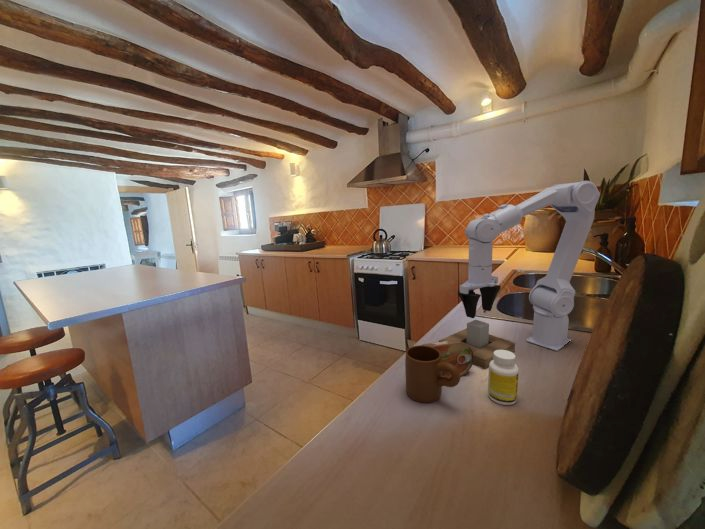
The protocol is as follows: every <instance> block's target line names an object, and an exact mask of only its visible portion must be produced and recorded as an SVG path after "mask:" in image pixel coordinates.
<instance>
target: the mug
mask: <svg viewBox="0 0 705 529" xmlns="http://www.w3.org/2000/svg"><path fill="white" fill-rule="evenodd" d="M404 360H405V363H404V365H405V368H404V369H405V391H406V392H407V395H408V396H409V397H410V398H411V399H413V400H414V401H416V402H418V403H425V404H426V403H433V402H436V401H437V400H439V398H441V396H442V391H443V390H442V389H443V388H442V387H445V388H446V387H447V388H454V387H456V386H458V385H459V383H460V381H461V376H460V373H459V370H458V369H457V368H456V367H455V366H454V365H452V364H450V363H442V359H441V353H440V352H439V350H437V349H435V348H433V347H430V346H424V345H423V344H421V345H414V346H411V347H409V348H407V349H406V351H405V359H404ZM442 371H449V372H450V373H451V374H452V377H451V378H446V377H442Z"/></svg>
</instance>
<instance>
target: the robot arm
mask: <svg viewBox="0 0 705 529" xmlns="http://www.w3.org/2000/svg"><path fill="white" fill-rule="evenodd" d="M600 196H601V192H600V191H599V189H598V187H597V186H596V184H595V183H594V182H592V181H590V180H581V181H578V182H570V183H569V182H568V183H556V184H554V185H552V186H550V187H546V188H544V189H543V190H542V191H539V193H537V194H534V195H533V196H530V198H528V199H526V200H524V201H522V202H520V203H518V204H517V205H513V204H512V203H511V204H501V205H499V207H498V209H496V210H494V211H492V212H490V213H484V214H483V215H482V217H481V218H476V219H472V220H471V221H470V222H468V224H467V225H466V229H464V235H465V236H466V238H467V239H468V265H467V266H468V271H467V272H468V273H467V274H468V276H467V278H468V280H466V281H465V282H464V283H463V284H460V285H459V289H458V290H457V295H458V298H460V300H461V302H462V305H463V308H464V312H465V316H466V317H467V318H471V319H475V318H476V315H477V314H476V313H477V308H478V303H479V300H480V299H481V307H482V308H481V309H482V310H484V311H487V312H491V311H492V308H493V305H494V302H495V300H496V298H497V295H498V294H499V292H500V290H501V288H502V286H501V285H499V284H498V283H499V277H498V276H495V275H493V274H492V271H493V247H494V246H493V244H494V241H495V240H496V239H497V238H498V236H499V234H501V233H503V232H505V231H507V230H509V229H512V228H514V227H515V226H518V225H519V224H521V222H522V219H523V217H526V216H528V215H531V214H533V213H535V212H537V211H539V210H541V209H544V208H546V207H549V206H550V207H552V208H553V209H554V210H555V211H556V212H558V213H559V215H561V216H562V217H563V219H564V220H565V224H564V227H563V228H562V232H561V234H560V238H559V240H558V243H557V245H556V249H555V251H554V254H553V257H552V259H551V262H550V264H549V267H548V270H547V273H546V275H545V276H544V277H541V278H540V279H537V281H536V284H535V285H534V287H533V288H531V290H530V292H529V293H528V294H529V295H528V300H529V303H530V304H531V305H532V309H533V323H532V324H533V326H532V335H531V336H529V337H528V338H526V340H525V341H526V342H528V343H531V344H534V345H537V346H541V347H543V348H547V349H550V350H553V351H559V350H561V349H562V348H564V347H565V346H566V345H568V344H569V343H570V342H572V339H571V338H568V334H569V323H570V320H569V316H568V315H569V314H570V313H571V312H572V311H573V309H574V307H575V295H576V292H577V291H576V290H575V289H574V287H573V286H572V283H571V279H572V277H573V275H574V272H575V269H576V266H577V264H578V262H579V258H580V255H581V254H582V251H583V249H584V246H585V243H586V241H587V238H588V236H589V233H590V231H591V228H592V225H593V223H594V220H595V212H596V210H595V209H596V206H597V204H598V201H599V199H600ZM476 290H479V292H480V294H479V293H476ZM480 297H481V298H480ZM569 341H570V342H569ZM568 342H569V343H568ZM567 343H568V344H567ZM565 344H566V345H565ZM564 345H565V346H564Z"/></svg>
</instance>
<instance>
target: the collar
mask: <svg viewBox="0 0 705 529" xmlns="http://www.w3.org/2000/svg"><path fill="white" fill-rule="evenodd" d="M449 340H458V341H461V342H463V343H464V344H466V342H467V327H466V328H465V329H464V328H463V329H462V330H459V331H457V332H455V333H453V334H450V335H448V336H446V337H444V338H442V339H441V338H440V339H439V340H438V342H442V341H449ZM466 345H468V344H466ZM468 346H469V347H470V348H471V349H472V351H473V354H474V361H473V365H474V366H476V367H478V368H481V369H484V370H487V369H489V363H490V362H491V361H492V360H493V353H494V351H496V350H507V351H510V352H512V353H515V352H516V350H515V349H516V343H515V342H513V341H510V340H507V339H505V338H501V337H499V336H496V335H493V334H490V333H489V340H488V345H487V346H485V347H483V348H481V349H478V348H476V347H473V346H471V345H468Z"/></svg>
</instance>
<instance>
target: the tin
mask: <svg viewBox="0 0 705 529" xmlns="http://www.w3.org/2000/svg"><path fill="white" fill-rule="evenodd" d="M422 345H424V346H430V347H433V348H435V349H437V350H439V352H440V353H441V359H442V363H450V364H452V365H454V366H455V367H456V368H457V369H458V370H459V373H460V377H462V376H464V375H466V374H467V373H468V372H469V371H470V370H471V368H472V367H473V365H474V364H473V361H474V354H473V351H472V349H471V348H470V347H469V346H468V345H466V344H464V343H463V342H461V341H458V340H449V341H442V342H439V341H435V342H430V343H428V342H427V343H424V344H422ZM442 377H446V378H449V379H450V378H451V377H452V374H451V373H450V372H449V371H442Z"/></svg>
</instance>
